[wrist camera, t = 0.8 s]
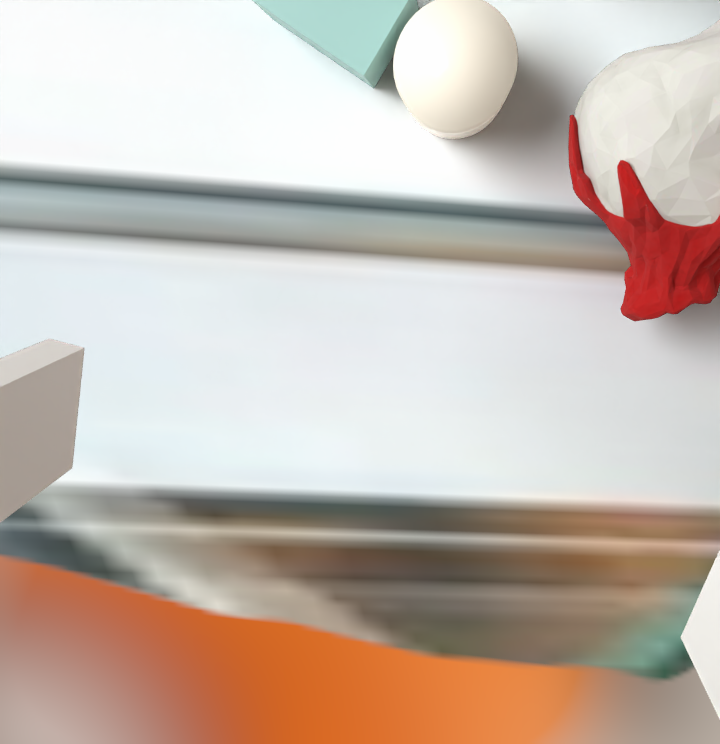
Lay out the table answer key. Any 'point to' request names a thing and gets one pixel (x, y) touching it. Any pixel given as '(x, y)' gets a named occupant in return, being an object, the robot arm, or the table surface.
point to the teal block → (347, 29)
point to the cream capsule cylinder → (455, 66)
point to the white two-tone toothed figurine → (656, 169)
